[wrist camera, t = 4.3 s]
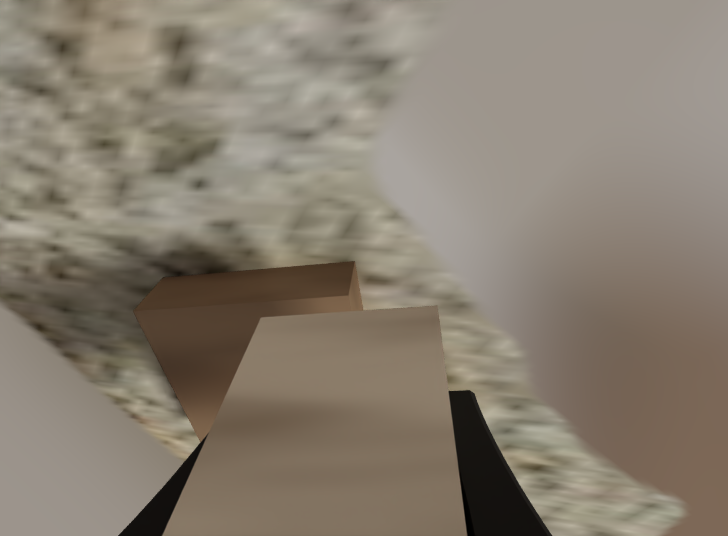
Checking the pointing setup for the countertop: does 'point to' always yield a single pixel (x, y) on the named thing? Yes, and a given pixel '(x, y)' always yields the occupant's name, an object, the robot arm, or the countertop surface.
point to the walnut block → (231, 323)
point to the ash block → (331, 433)
